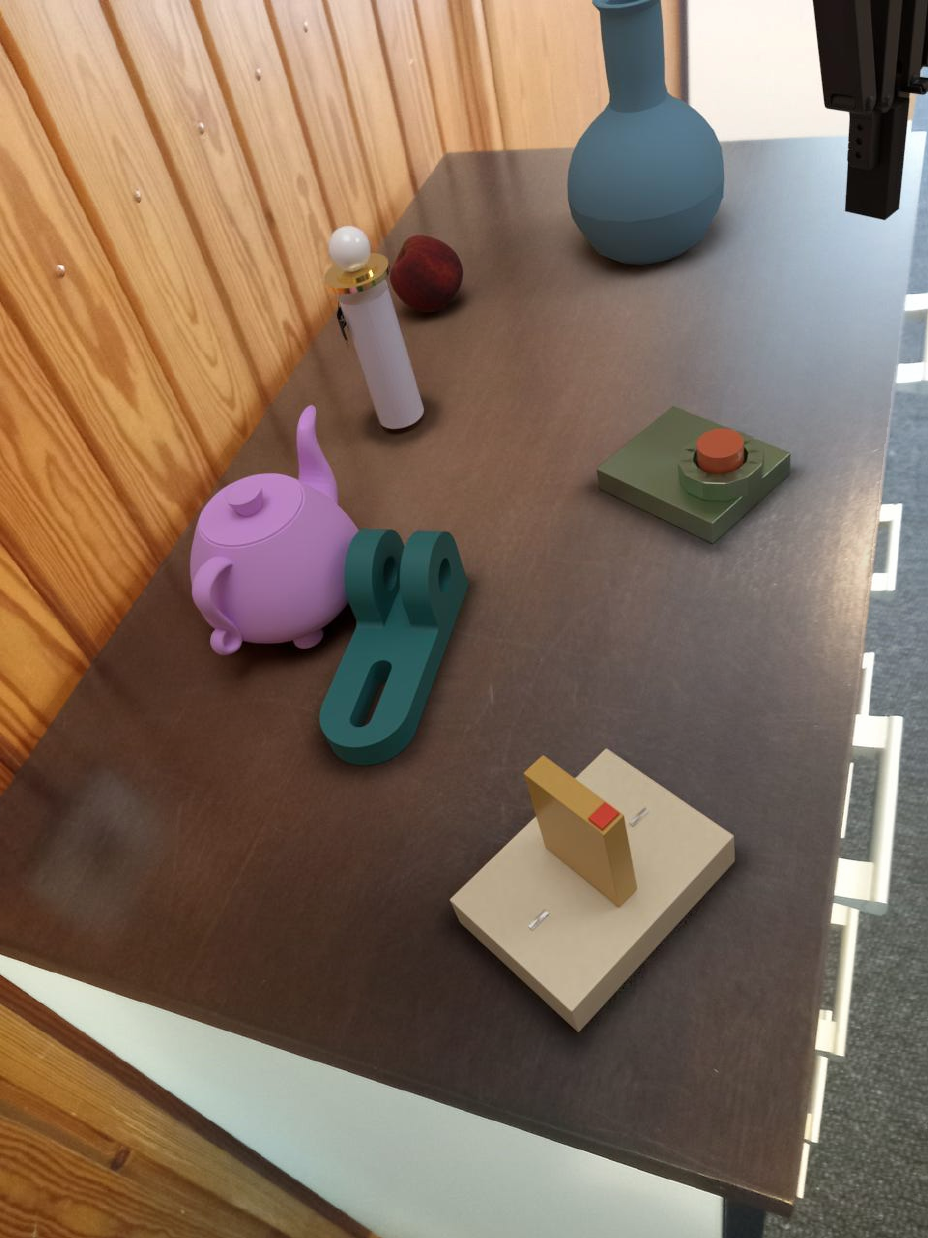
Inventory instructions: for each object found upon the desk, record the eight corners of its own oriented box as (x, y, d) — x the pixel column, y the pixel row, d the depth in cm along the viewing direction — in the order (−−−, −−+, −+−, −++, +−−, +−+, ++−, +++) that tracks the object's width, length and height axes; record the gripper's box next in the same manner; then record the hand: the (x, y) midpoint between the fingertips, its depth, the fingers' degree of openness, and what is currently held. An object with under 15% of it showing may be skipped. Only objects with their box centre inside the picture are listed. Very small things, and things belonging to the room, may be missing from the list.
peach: (413, 288, 118) (395, 222, 112) (477, 285, 115) (462, 218, 110) (393, 325, 113) (373, 258, 108) (459, 323, 111) (443, 254, 105)
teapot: (292, 506, 95) (243, 394, 86) (426, 527, 89) (388, 409, 80) (169, 668, 84) (98, 559, 75) (312, 705, 78) (254, 591, 69)
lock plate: (611, 773, 68) (605, 746, 66) (735, 861, 62) (734, 834, 60) (459, 922, 64) (448, 898, 61) (578, 1033, 57) (570, 1010, 55)
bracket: (391, 581, 86) (365, 510, 80) (468, 584, 83) (447, 512, 78) (315, 760, 75) (278, 693, 69) (401, 770, 72) (371, 701, 67)
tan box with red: (544, 847, 62) (521, 770, 56) (563, 829, 63) (542, 751, 57) (619, 908, 59) (603, 833, 53) (638, 889, 59) (623, 812, 53)
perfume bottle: (436, 399, 102) (382, 207, 88) (426, 436, 98) (368, 241, 84) (381, 404, 103) (319, 216, 89) (369, 441, 100) (302, 250, 85)
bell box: (793, 474, 84) (794, 435, 81) (715, 545, 81) (713, 507, 78) (674, 425, 91) (671, 388, 89) (599, 488, 88) (593, 451, 85)
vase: (757, 216, 113) (755, -41, 95) (671, 294, 106) (652, 32, 88) (631, 195, 122) (608, -43, 104) (546, 265, 115) (505, 23, 97)
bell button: (753, 455, 81) (753, 437, 80) (724, 480, 80) (724, 463, 79) (716, 440, 83) (715, 422, 82) (688, 464, 82) (686, 447, 81)
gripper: (905, -256, 41) (865, 276, 58) (1071, -345, 46) (989, 172, 63) (750, -244, 46) (754, 247, 63) (914, -325, 51) (877, 152, 67)
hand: (871, 209), depth 63 cm, fingers closed
